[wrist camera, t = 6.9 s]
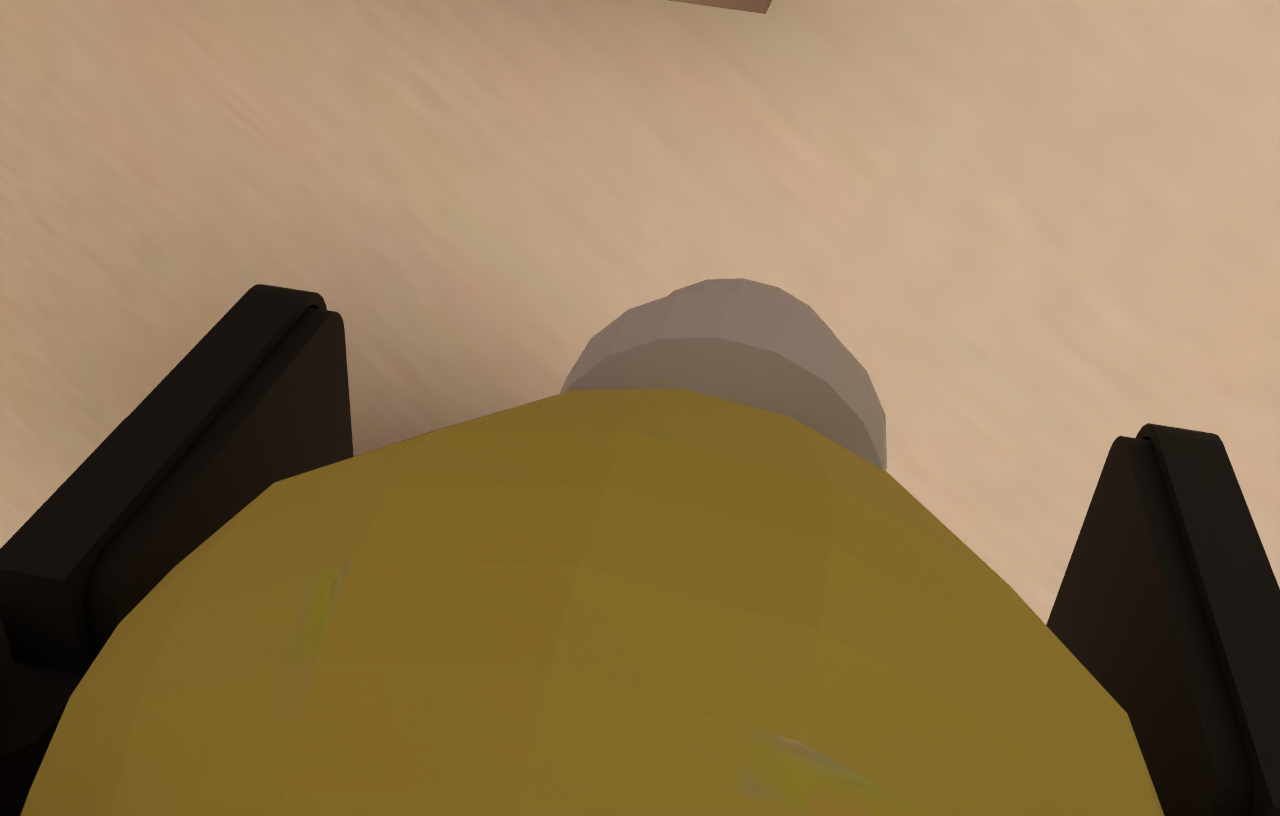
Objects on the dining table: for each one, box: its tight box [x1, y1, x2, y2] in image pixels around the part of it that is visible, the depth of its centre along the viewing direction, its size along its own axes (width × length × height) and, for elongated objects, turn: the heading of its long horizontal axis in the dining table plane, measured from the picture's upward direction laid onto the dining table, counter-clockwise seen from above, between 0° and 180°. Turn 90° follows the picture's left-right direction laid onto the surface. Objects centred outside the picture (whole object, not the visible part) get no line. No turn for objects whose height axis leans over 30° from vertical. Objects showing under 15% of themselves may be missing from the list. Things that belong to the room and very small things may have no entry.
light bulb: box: [20, 279, 1164, 816], centre depth 9 cm, size 7×7×10 cm
